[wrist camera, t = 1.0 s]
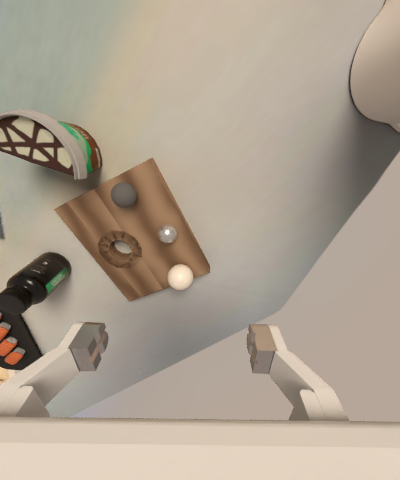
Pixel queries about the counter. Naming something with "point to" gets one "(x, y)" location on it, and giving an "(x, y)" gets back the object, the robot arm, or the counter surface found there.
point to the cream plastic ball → (180, 277)
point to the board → (134, 232)
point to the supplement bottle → (34, 283)
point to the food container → (49, 142)
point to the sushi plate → (15, 343)
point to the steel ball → (167, 233)
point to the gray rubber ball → (123, 195)
